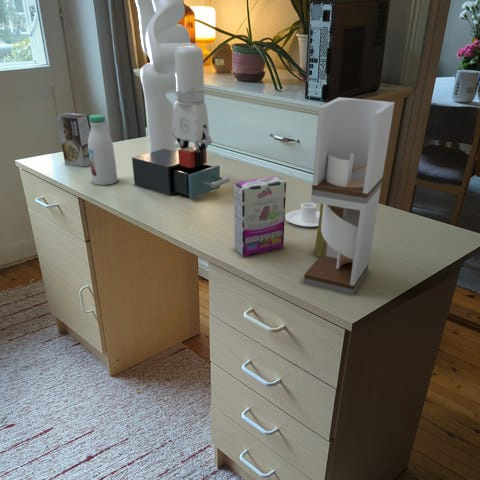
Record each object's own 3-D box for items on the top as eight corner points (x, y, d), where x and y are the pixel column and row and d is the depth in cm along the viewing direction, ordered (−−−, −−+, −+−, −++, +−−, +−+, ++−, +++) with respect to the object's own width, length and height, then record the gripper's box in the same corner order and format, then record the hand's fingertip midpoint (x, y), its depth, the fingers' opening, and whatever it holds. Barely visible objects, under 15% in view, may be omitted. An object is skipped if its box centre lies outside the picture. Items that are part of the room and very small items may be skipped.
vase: (311, 248, 124) (317, 190, 116) (337, 248, 125) (343, 190, 117) (317, 259, 119) (323, 200, 111) (343, 259, 119) (351, 199, 112)
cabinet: (200, 184, 164) (199, 157, 159) (169, 195, 155) (167, 167, 150) (165, 175, 172) (163, 148, 167) (134, 185, 163) (131, 157, 158)
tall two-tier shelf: (321, 261, 118) (338, 97, 99) (367, 271, 114) (394, 102, 95) (303, 282, 110) (319, 107, 91) (352, 294, 106) (379, 113, 87)
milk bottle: (120, 178, 168) (113, 113, 158) (113, 186, 162) (105, 118, 151) (97, 177, 169) (88, 112, 158) (89, 185, 163) (79, 118, 152)
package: (179, 165, 152) (178, 149, 149) (195, 160, 156) (194, 144, 154) (190, 168, 149) (189, 152, 147) (206, 162, 154) (206, 147, 152)
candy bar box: (273, 241, 128) (276, 174, 119) (284, 248, 124) (288, 181, 115) (232, 249, 123) (232, 181, 114) (242, 257, 120) (243, 188, 111)
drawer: (235, 192, 155) (235, 169, 151) (208, 203, 147) (207, 180, 143) (185, 178, 166) (184, 157, 162) (157, 188, 158) (155, 165, 154)
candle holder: (277, 215, 142) (278, 200, 140) (315, 209, 146) (316, 194, 144) (298, 231, 133) (299, 215, 130) (338, 225, 137) (340, 209, 134)
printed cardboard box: (96, 162, 183) (90, 114, 175) (84, 167, 178) (77, 118, 170) (76, 159, 187) (68, 112, 178) (64, 163, 182) (55, 115, 173)
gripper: (159, 95, 145) (163, 160, 155) (204, 103, 136) (205, 172, 146) (178, 91, 150) (181, 155, 160) (222, 99, 141) (223, 166, 151)
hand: (193, 162), depth 153 cm, fingers closed on package, 4 cm apart
